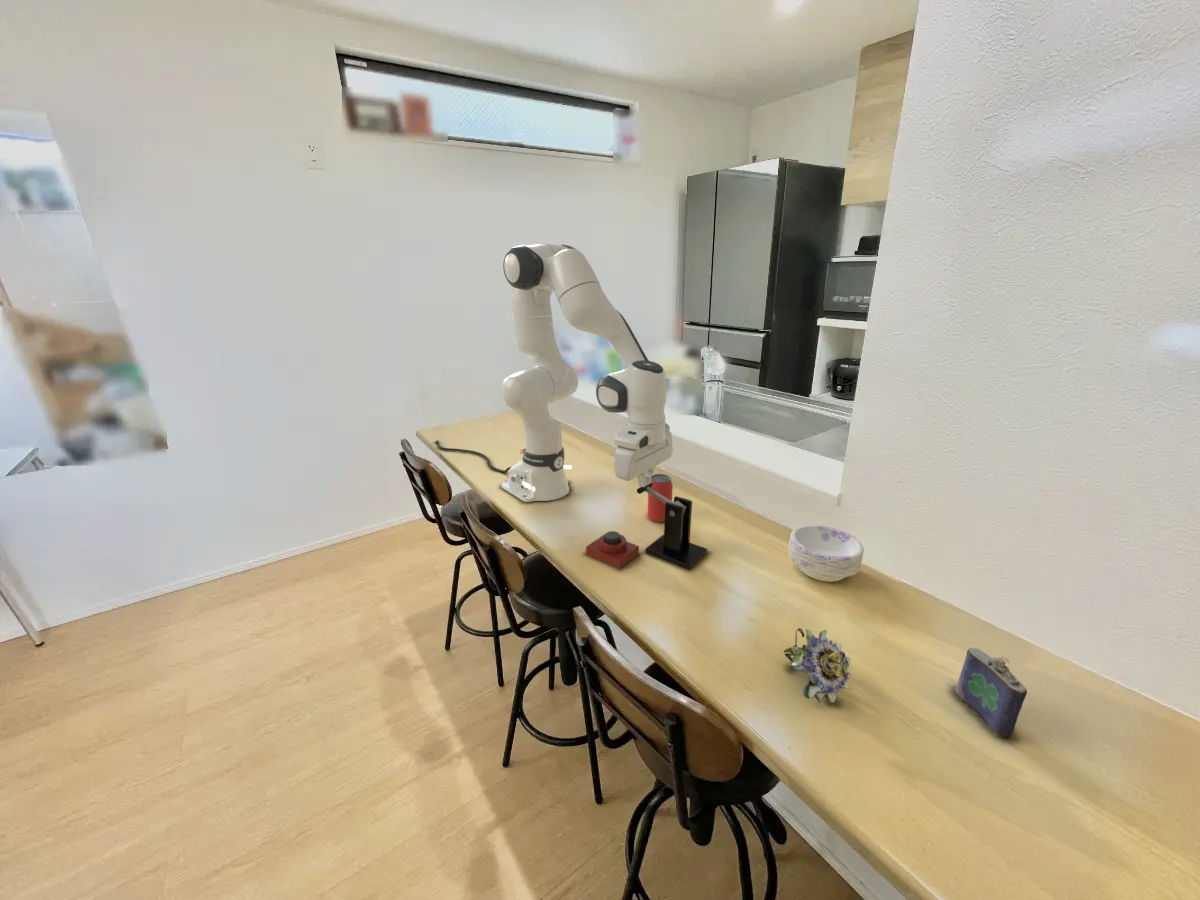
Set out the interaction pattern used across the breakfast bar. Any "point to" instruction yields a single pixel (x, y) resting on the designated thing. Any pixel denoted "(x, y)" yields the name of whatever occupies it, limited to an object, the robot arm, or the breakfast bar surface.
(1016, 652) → the breakfast bar surface
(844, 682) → the passion flower
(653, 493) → the lever
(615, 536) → the button
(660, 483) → the beer can
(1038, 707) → the breakfast bar surface
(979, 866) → the breakfast bar surface
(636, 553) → the button box
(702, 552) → the bracket
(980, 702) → the flask
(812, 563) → the paper bowls
